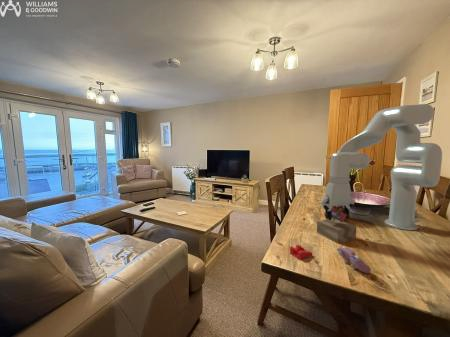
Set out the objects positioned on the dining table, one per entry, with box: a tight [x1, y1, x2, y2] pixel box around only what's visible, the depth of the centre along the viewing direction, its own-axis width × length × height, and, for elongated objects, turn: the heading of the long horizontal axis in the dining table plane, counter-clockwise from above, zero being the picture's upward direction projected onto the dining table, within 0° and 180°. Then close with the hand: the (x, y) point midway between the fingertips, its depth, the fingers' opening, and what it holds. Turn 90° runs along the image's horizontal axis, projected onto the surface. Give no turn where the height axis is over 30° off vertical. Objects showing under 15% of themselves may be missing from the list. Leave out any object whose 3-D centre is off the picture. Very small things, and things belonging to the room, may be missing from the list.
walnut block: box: [316, 218, 357, 244], centre depth 87 cm, size 11×11×6 cm
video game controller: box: [336, 245, 372, 274], centre depth 64 cm, size 10×5×7 cm, turn 5°
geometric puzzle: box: [331, 207, 347, 223], centre depth 86 cm, size 7×7×8 cm
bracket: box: [289, 244, 313, 261], centre depth 71 cm, size 6×5×3 cm
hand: (336, 218), depth 86 cm, fingers closed on geometric puzzle, 8 cm apart
